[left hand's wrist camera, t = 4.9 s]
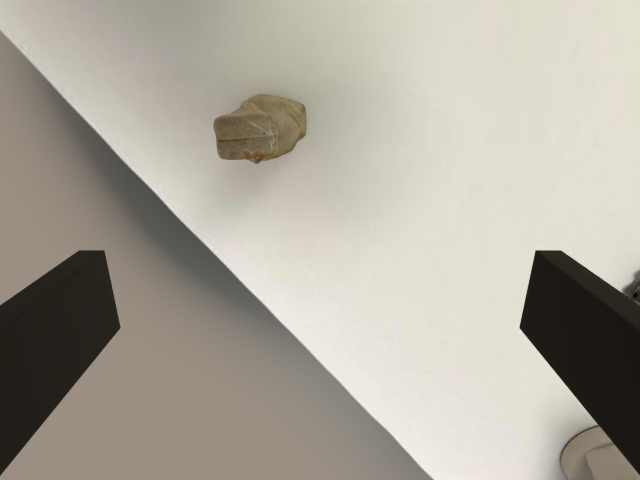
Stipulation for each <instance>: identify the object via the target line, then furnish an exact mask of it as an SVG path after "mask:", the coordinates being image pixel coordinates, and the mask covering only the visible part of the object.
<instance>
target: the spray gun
mask: <svg viewBox="0 0 640 480" xmlns="http://www.w3.org/2000/svg"><path fill="white" fill-rule="evenodd" d="M629 298H630V299H631V300H632V299H633V300H634V302H635V303H637V304H638V305H640V285H639V286H638V288H637V289H636V290H635V291H634V292H633V293H632V294H631V295H630V297H629Z"/></svg>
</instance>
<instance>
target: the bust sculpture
mask: <svg viewBox="0 0 640 480" xmlns="http://www.w3.org/2000/svg"><path fill="white" fill-rule="evenodd" d="M561 468H562V470H563V472H564V474H565V475H566V477H567V478H568V480H640V475H639V474H638V473H637V472H636V470H635V469H634V468H633V467H632V465H631V464H630V463H629V462H628V461H627V459H626V458H625V457H624V456H623V454H622V453H621V452H620V451H619V449H618V448H617V447H616V446H615V445H614V443H613V442H612V441H611V440H610V438H609V437H608V436H607V435H606V434H605V432H604V431H603V430H602V429H601V427H600V426H599V427H595V428H592V429H589V430H587V431H585V432H583V433H581V434H580V435H578V436H577V437H575V438H574V439H573V440H572V441H571V442H570V443H569V444H568V445H567V446H566V448H565V449H564V451H563V453H562V456H561Z"/></svg>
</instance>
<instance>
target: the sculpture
mask: <svg viewBox="0 0 640 480" xmlns="http://www.w3.org/2000/svg"><path fill="white" fill-rule="evenodd" d="M214 131H215V134H216V139H217V151H218V154H219V157H220V158H222V159H227V160H237V159H247V160H250V161H252V162H253V163H255V164H258V163H260V161H265V160H269V159H273V158H277V157H279V156H281V155H283V154H286V153H288V152H290V151H292V150H293V148H294V147H295V145H296V143H297V141H299V140H301V139H302V138H303V137H304V136H305V134H306V111H305V107H304V105H302V104H300V103H298V102H295V101H292V100H287V99H284V98H280V97H274V96H268V95H262V94H261V95H256V96H253V97H251V98H249V100H247V101H244V102H243V103H242V104H241V107H240V108H239V109H238V110H236V111H234V112H233V113H231V114H229V115H224V116H220V117H218V118H216V119H215V121H214Z"/></svg>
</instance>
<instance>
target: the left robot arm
mask: <svg viewBox="0 0 640 480" xmlns="http://www.w3.org/2000/svg"><path fill="white" fill-rule="evenodd" d="M119 329H120V323H119V318H118V313H117V309H116V304H115V299H114V294H113V290H112V285H111V280H110V275H109V271H108V266H107V261H106V256H105V251H78V252H76V253H75V254H74V255H72V256H71V257H69V258H68V259H66V260H65V261H63V262H62V263H61V264H59V265H58V266H56V267H55V268H53V269H52V270H50V271H49V272H48V273H46V274H45V275H43V276H42V277H40V278H39V279H38V280H36V281H35V282H33V283H32V284H30V285H29V286H27V287H26V288H25V289H23V290H22V291H20V292H19V293H17V294H16V295H15V296H13V297H12V298H10V299H9V300H7V301H6V302H5V303H3V304H2V305H0V475H1V474H2V473H3V472H4V470H5V469H6V468H7V467H8V465H9V464H10V463H11V462H12V461H13V459H14V458H15V457H16V456H17V454H18V453H19V452H20V451H21V449H22V448H23V447H24V446H25V445H26V443H27V442H28V441H29V440H30V438H31V437H32V436H33V435H34V433H35V432H36V431H37V430H38V429H39V427H40V426H41V425H42V424H43V422H44V421H45V420H46V419H47V417H48V416H49V415H50V414H51V413H52V411H53V410H54V409H55V408H56V406H57V405H58V404H59V403H60V402H61V400H62V399H63V398H64V397H65V395H66V394H67V393H68V392H69V390H70V389H71V388H72V387H73V386H74V384H75V383H76V382H77V381H78V379H79V378H80V377H81V376H82V375H83V373H84V372H85V371H86V370H87V368H88V367H89V366H90V365H91V363H92V362H93V361H94V360H95V359H96V357H97V356H98V355H99V354H100V352H101V351H102V350H103V349H104V347H105V346H106V345H107V344H108V343H109V341H110V340H111V339H112V338H113V336H114V335H115V334H116V333H117V332H118V330H119ZM520 329H521V330H522V332H523V333H524V334H525V335H526V336H527V338H528V339H529V340H530V341H531V343H532V344H533V345H534V346H535V348H536V349H537V350H538V351H539V352H540V354H541V355H542V356H543V357H544V359H545V360H546V361H547V362H548V363H549V365H550V366H551V367H552V368H553V370H554V371H555V372H556V373H557V375H558V376H559V377H560V378H561V379H562V381H563V382H564V383H565V384H566V386H567V387H568V388H569V389H570V391H571V392H572V393H573V394H574V395H575V397H576V398H577V399H578V400H579V402H580V403H581V404H582V405H583V406H584V408H585V409H586V410H587V411H588V413H589V414H590V415H591V416H592V418H593V419H594V420H595V421H596V422H597V424H598V425H599V426H600V427H601V429H602V430H603V431H604V432H605V434H606V435H607V436H608V437H609V438H610V440H611V441H612V442H613V443H614V445H615V446H616V447H617V448H618V449H619V451H620V452H621V453H622V454H623V456H624V457H625V458H626V459H627V461H628V462H629V463H630V464H631V465H632V467H633V468H634V469H635V470H636V472H637V473H638V474H639V475H640V305H638V304H637V303H635V302H634V301H633V300H631V299H630V298H628V297H627V296H625V295H624V294H623V293H621V292H620V291H618V290H617V289H615V288H614V287H613V286H611V285H610V284H608V283H607V282H605V281H604V280H602V279H601V278H600V277H598V276H597V275H595V274H594V273H592V272H591V271H590V270H588V269H587V268H585V267H584V266H582V265H581V264H580V263H578V262H577V261H575V260H574V259H572V258H571V257H569V256H568V255H567V254H565V253H564V252H562V251H535V256H534V261H533V266H532V270H531V275H530V280H529V285H528V290H527V294H526V299H525V304H524V309H523V313H522V318H521V323H520Z"/></svg>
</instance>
